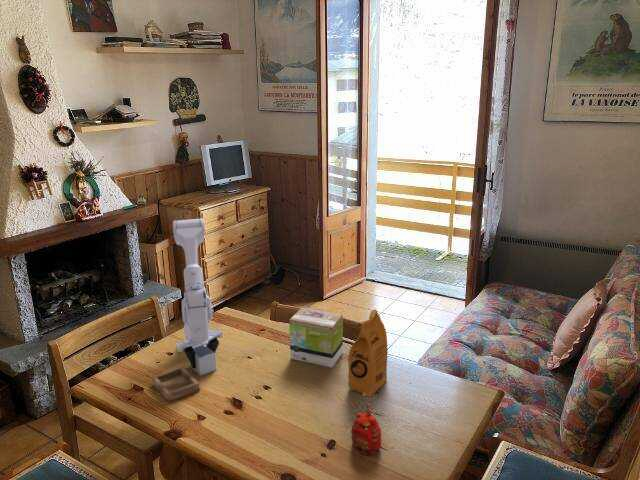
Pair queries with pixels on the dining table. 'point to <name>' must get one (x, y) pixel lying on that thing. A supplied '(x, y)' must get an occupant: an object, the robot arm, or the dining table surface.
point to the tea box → (316, 337)
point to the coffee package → (368, 356)
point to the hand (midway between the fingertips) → (202, 363)
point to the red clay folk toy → (366, 432)
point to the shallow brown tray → (176, 384)
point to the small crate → (204, 360)
